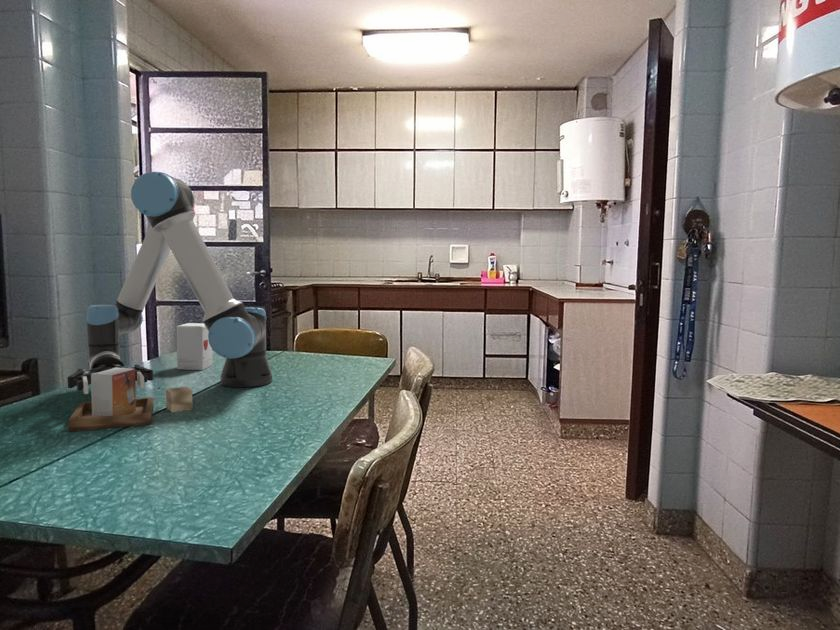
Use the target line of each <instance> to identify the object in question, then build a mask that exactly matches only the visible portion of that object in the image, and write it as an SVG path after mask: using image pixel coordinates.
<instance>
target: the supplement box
mask: <svg viewBox="0 0 840 630" xmlns="http://www.w3.org/2000/svg"><path fill="white" fill-rule="evenodd" d="M208 333H209V332H208V330H207V328H206V326H205V324H204V322H203V323H202V322H200V323H199V322H198V323H196V322H187V323H183V324H180V325H176V369H177V370H183V371H184V370H186V371H187V370H190V371H204V370H205V369H208V368H210V367H211V366H213V349H212V348H211V346H210V344H209V341H208Z"/></svg>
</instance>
